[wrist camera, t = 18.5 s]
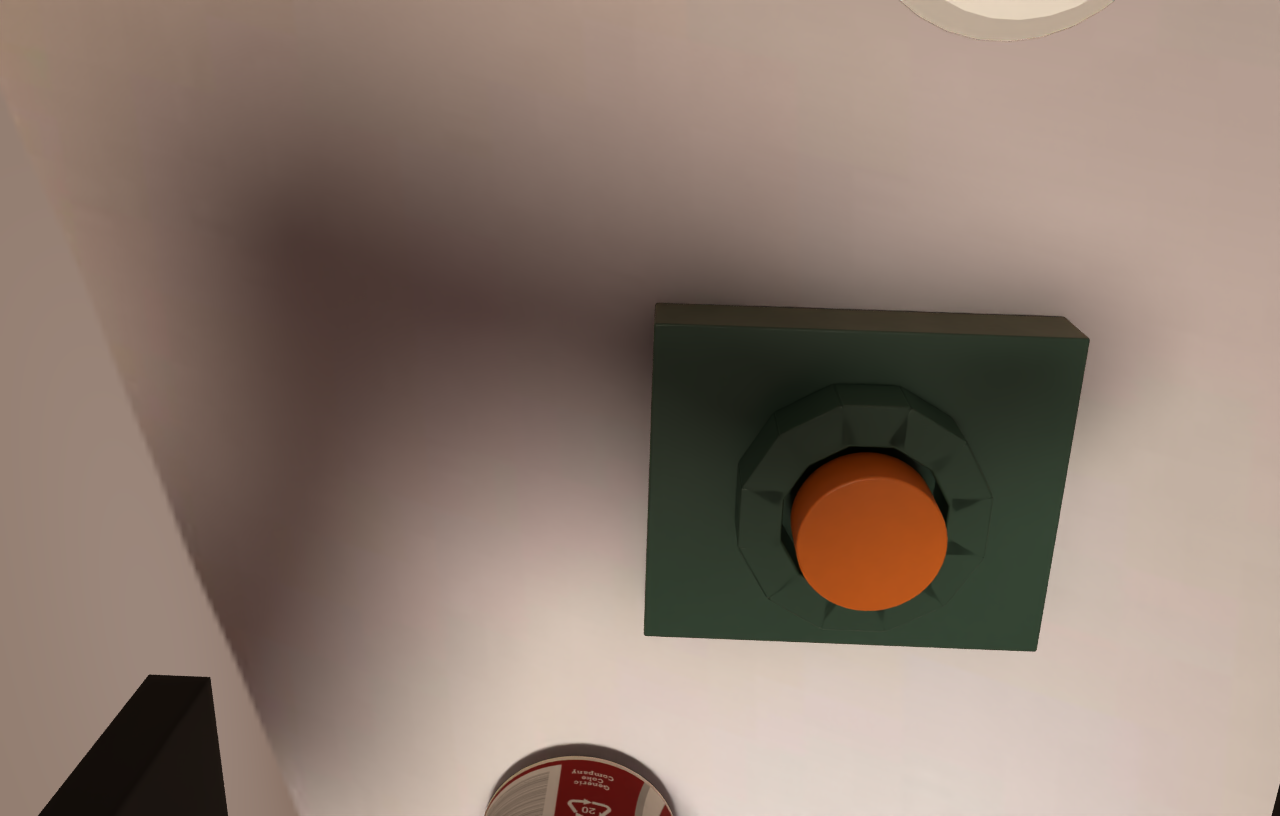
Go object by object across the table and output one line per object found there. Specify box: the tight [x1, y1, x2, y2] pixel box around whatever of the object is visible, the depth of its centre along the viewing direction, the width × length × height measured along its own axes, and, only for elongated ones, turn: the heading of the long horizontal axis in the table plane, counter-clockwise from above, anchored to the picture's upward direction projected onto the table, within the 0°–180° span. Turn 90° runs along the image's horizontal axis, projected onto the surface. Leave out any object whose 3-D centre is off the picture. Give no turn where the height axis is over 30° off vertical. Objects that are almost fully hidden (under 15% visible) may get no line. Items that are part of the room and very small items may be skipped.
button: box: [791, 452, 948, 611], centre depth 31 cm, size 4×4×2 cm
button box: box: [644, 303, 1090, 652], centre depth 34 cm, size 12×10×4 cm
